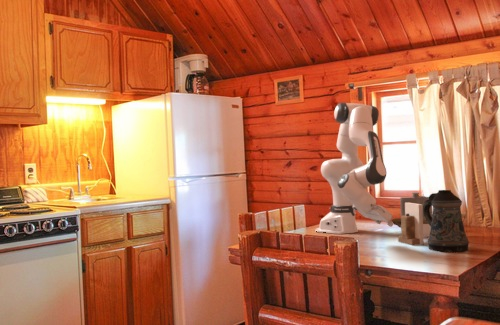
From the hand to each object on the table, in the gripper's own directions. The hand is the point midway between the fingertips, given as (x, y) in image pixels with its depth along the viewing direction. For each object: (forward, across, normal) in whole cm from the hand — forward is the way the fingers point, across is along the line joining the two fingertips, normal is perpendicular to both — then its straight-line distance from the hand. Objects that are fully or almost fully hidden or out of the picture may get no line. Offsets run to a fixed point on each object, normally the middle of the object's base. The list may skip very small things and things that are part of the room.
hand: (385, 224), depth 225 cm
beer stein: (+20, -17, -5) cm, 27 cm away
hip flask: (+33, +29, -19) cm, 48 cm away
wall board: (+16, 0, -2) cm, 16 cm away
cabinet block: (+13, 0, -3) cm, 14 cm away
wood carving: (+30, +13, -16) cm, 37 cm away
